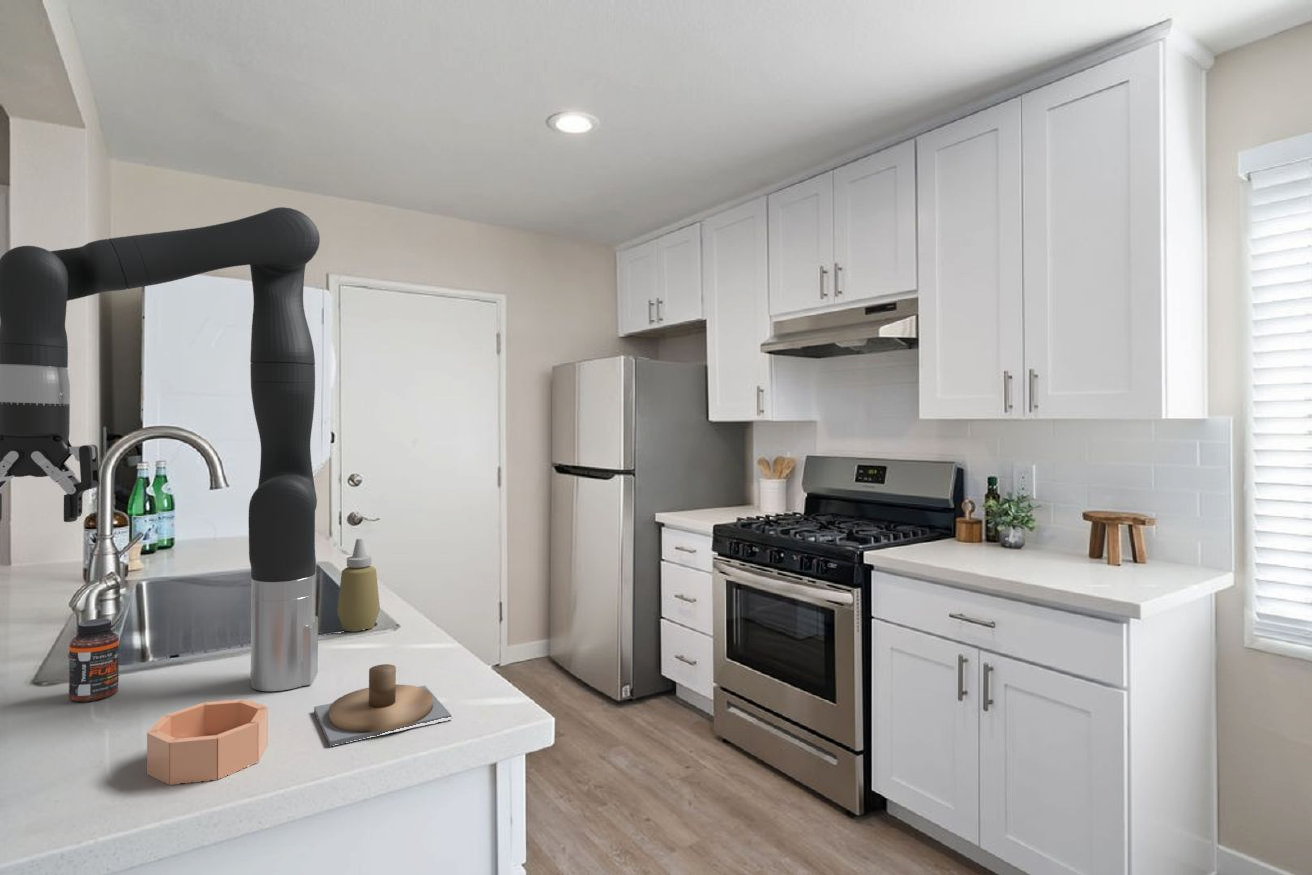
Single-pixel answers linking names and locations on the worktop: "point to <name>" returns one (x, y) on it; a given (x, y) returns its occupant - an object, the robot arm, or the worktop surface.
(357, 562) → the squeeze bottle
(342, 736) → the mat
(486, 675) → the worktop surface
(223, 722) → the bowl
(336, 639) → the worktop surface
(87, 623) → the supplement bottle
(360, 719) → the lid
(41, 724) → the worktop surface
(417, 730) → the worktop surface
